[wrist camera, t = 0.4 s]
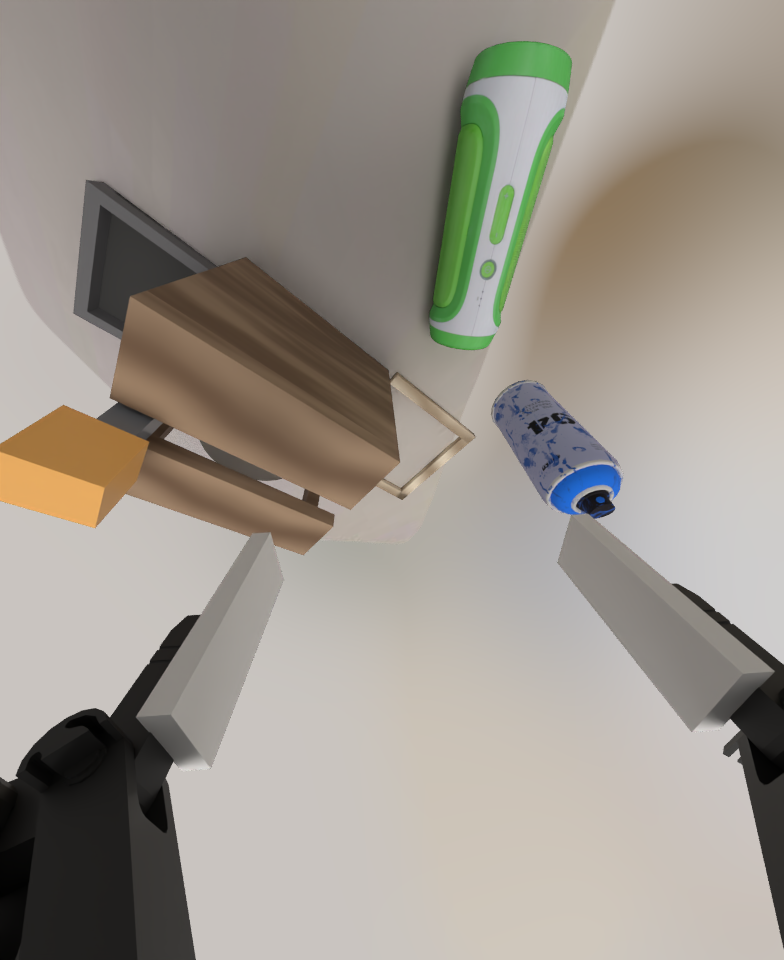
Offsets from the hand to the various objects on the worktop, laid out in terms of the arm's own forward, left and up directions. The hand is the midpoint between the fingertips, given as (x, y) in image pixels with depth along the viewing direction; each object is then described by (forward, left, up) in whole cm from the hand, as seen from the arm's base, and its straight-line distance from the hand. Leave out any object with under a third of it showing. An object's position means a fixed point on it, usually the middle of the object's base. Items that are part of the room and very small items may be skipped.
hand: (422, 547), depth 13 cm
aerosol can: (-5, +20, -29) cm, 36 cm away
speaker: (-13, 0, -29) cm, 32 cm away
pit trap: (+11, -22, -29) cm, 38 cm away
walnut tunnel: (+11, -7, -29) cm, 32 cm away
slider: (+11, -15, -29) cm, 34 cm away
